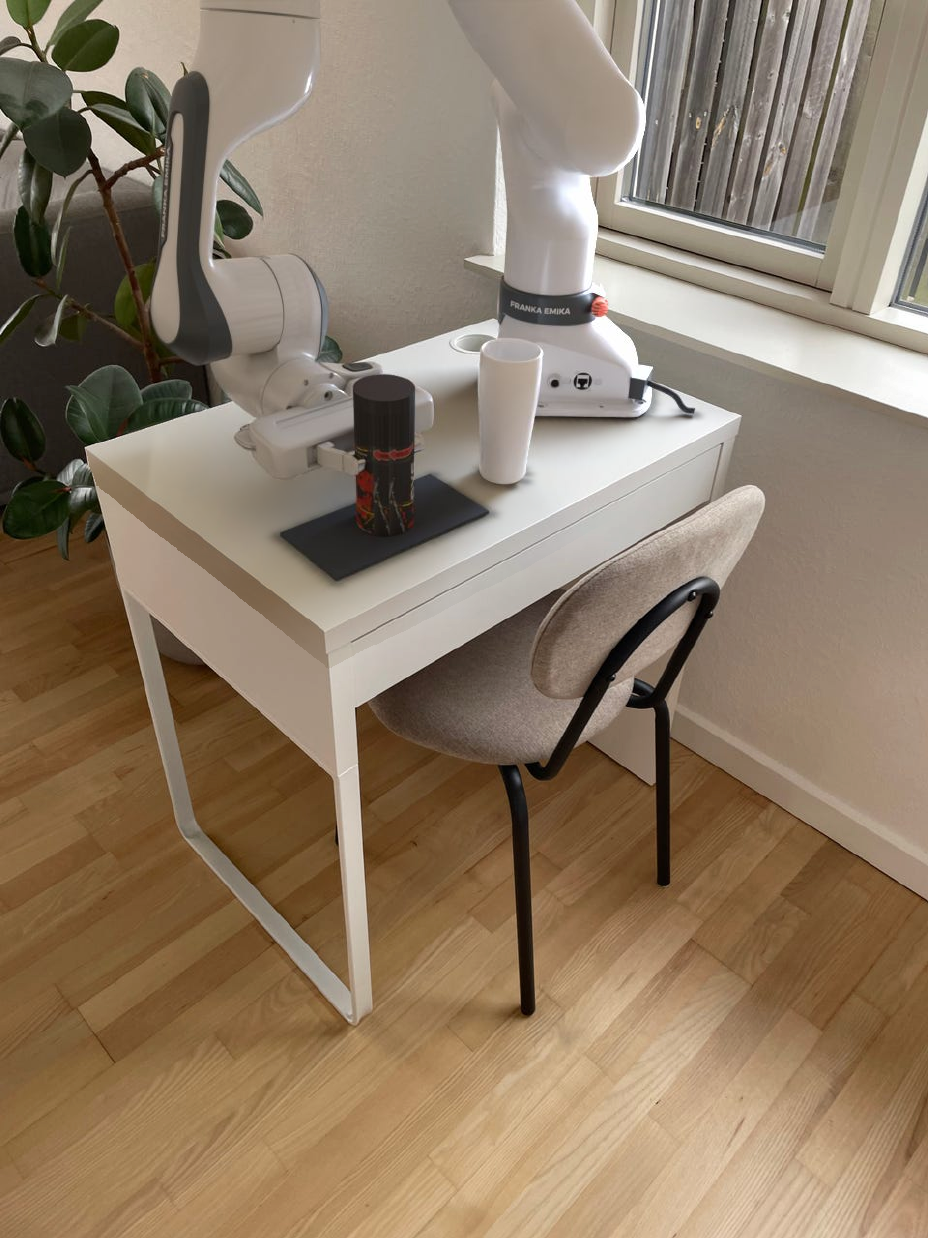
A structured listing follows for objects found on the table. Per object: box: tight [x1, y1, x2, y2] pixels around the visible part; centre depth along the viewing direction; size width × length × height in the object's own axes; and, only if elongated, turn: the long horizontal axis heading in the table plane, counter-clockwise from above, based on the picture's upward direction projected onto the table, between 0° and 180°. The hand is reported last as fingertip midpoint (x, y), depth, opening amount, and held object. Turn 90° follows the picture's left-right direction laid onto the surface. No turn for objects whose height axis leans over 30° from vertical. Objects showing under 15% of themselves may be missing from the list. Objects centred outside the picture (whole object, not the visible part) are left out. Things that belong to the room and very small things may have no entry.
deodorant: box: [353, 373, 416, 537], centre depth 93 cm, size 6×6×15 cm
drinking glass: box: [477, 338, 543, 485], centre depth 103 cm, size 7×7×15 cm
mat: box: [279, 473, 490, 582], centre depth 98 cm, size 20×10×1 cm, turn 131°
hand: (390, 456), depth 92 cm, fingers closed on deodorant, 6 cm apart
